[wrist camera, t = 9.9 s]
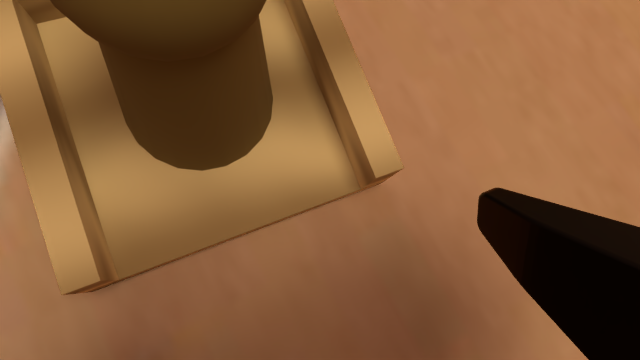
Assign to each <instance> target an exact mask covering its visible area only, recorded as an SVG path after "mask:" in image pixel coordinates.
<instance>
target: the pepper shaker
mask: <svg viewBox="0 0 640 360" xmlns="http://www.w3.org/2000/svg"><path fill="white" fill-rule="evenodd" d="M50 1H51V2H52V4H53V5H54V7H55V8H57V9H58V10H59V11H60V12H61V13H62V14H64V15H65V16H66V17H67V18H68V19H69V20H70V21H72V22H73V23H74V24H75V25H76V26H77V27H78V28H80V29H81V30H82V31H83V32H84V33H86V34H87V35H89V36H90V37H92V38H93V39H95V40H96V41H98V43H99V46H100V48H101V51H102V54H103V57H104V60H105V63H106V66H107V69H108V72H109V75H110V78H111V81H112V84H113V87H114V90H115V93H116V96H117V98H118V101H119V104H120V107H121V110H122V113H123V116H124V119H125V122H126V124H127V126H128V128H129V129H130V131H131V133H132V135H133V136H134V138H135V140H136V141H137V143H138V144H139V145H140V146H141V147H143V148H144V149H145V150H146V151H147V152H148V153H149V154H151V155H152V156H153V157H154V158H155V159H157V160H160V161H162V162H164V163H167V164H169V165H171V166H174V167H176V168H180V169H189V170H199V171H204V170H209V169H214V168H219V167H224V166H227V165H229V164H231V163H233V162H235V161H237V160H238V159H240V158H242V157H244V156H246V155H247V154H248V153H249V152H250V151H251V150H252V149H253V148H254V147H255V146H256V145H257V144H258V142H259V141H260V140H261V139H262V138H263V136H264V133H265V131H266V129H267V127H268V125H269V123H270V120H271V115H272V105H273V94H272V88H271V83H270V77H269V71H268V65H267V60H266V54H265V48H264V42H263V36H262V31H261V25H260V19H259V14H260V12H261V10H262V8H263V6H264V4H265V2H266V0H50Z"/></svg>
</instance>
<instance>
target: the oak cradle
mask: <svg viewBox="0 0 640 360" xmlns="http://www.w3.org/2000/svg"><path fill="white" fill-rule="evenodd" d="M259 19H260V25H261V31H262V36H263V42H264V48H265V54H266V60H267V65H268V71H269V77H270V83H271V88H272V94H273V105H272V115H271V120H270V123H269V125H268V127H267V129H266V131H265V133H264V136H263V138H262V139H261V140H260V141H259V142H258V144H257V145H256V146H255V147H254V148H253V149H252V150H251V151H250V152H249V153H248V154H247V155H246V156H244V157H242V158H240V159H238V160H237V161H235V162H233V163H231V164H229V165H227V166H224V167H219V168H214V169H209V170H204V171H199V170H189V169H180V168H176V167H174V166H171V165H169V164H167V163H164V162H162V161H160V160H157V159H155V158H154V157H153V156H152V155H151V154H149V153H148V152H147V151H146V150H145V149H144V148H143V147H141V146H140V145H139V144H138V143H137V141H136V140H135V138H134V136H133V135H132V133H131V131H130V129H129V128H128V126H127V124H126V122H125V119H124V116H123V113H122V110H121V107H120V104H119V101H118V98H117V96H116V93H115V90H114V87H113V84H112V81H111V78H110V75H109V72H108V69H107V66H106V63H105V60H104V57H103V54H102V51H101V48H100V46H99V43H98V41H96V40H95V39H93V38H92V37H90V36H89V35H87V34H86V33H84V32H83V31H82V30H81V29H80V28H78V27H77V26H76V25H75V24H74V23H73V22H72V21H70V20H69V19H68V18H67V17H66V16H65V15H64V14H62V13H61V12H60V11H59V10H58V9H57V8H55V7H54V5H53V4H52V2H51V1H50V0H0V94H1V97H2V101H3V104H4V107H5V110H6V114H7V117H8V120H9V124H10V127H11V130H12V134H13V137H14V140H15V144H16V147H17V150H18V154H19V157H20V160H21V163H22V167H23V170H24V173H25V177H26V180H27V183H28V187H29V190H30V193H31V197H32V200H33V203H34V206H35V210H36V213H37V216H38V220H39V223H40V226H41V230H42V233H43V236H44V240H45V243H46V246H47V249H48V253H49V256H50V259H51V263H52V266H53V269H54V273H55V276H56V279H57V283H58V286H59V289H60V292H61V295H67V294H76V293H85V292H93V291H95V290H98V289H101V288H103V287H106V286H109V285H111V284H114V283H117V282H119V281H122V280H125V279H127V278H130V277H133V276H135V275H138V274H141V273H143V272H146V271H149V270H151V269H154V268H157V267H159V266H162V265H165V264H167V263H170V262H173V261H175V260H178V259H181V258H183V257H186V256H189V255H191V254H194V253H197V252H199V251H202V250H205V249H207V248H210V247H212V246H215V245H218V244H220V243H223V242H226V241H228V240H231V239H234V238H236V237H239V236H242V235H244V234H247V233H250V232H252V231H255V230H258V229H260V228H263V227H266V226H268V225H271V224H274V223H276V222H279V221H282V220H284V219H287V218H290V217H292V216H295V215H298V214H300V213H303V212H306V211H308V210H311V209H314V208H316V207H319V206H322V205H324V204H327V203H330V202H332V201H335V200H338V199H340V198H343V197H346V196H348V195H351V194H354V193H356V192H359V191H362V190H364V189H367V188H370V187H372V186H375V185H378V184H380V183H382V182H383V181H385V180H387V179H388V178H390V177H391V176H393V175H394V174H396V173H397V172H399V171H400V170H402V169H403V168H404V166H403V164H402V162H401V159H400V157H399V155H398V152H397V150H396V147H395V145H394V143H393V140H392V138H391V136H390V133H389V131H388V129H387V126H386V124H385V122H384V119H383V117H382V115H381V112H380V110H379V107H378V105H377V103H376V100H375V98H374V96H373V93H372V91H371V89H370V86H369V84H368V82H367V79H366V77H365V75H364V72H363V70H362V67H361V65H360V63H359V60H358V58H357V56H356V53H355V51H354V49H353V46H352V44H351V42H350V39H349V37H348V35H347V32H346V30H345V27H344V25H343V23H342V20H341V18H340V16H339V13H338V11H337V9H336V6H335V4H334V2H333V0H266V2H265V4H264V6H263V8H262V10H261V12H260V14H259Z"/></svg>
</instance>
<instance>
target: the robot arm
mask: <svg viewBox="0 0 640 360" xmlns="http://www.w3.org/2000/svg"><path fill="white" fill-rule="evenodd" d="M477 223H478V227H479V229H480V231H481V232H482V234H483V235H484V237H485V238H486V239H487V241H488V242H489V243H490V245H491V246H492V247H493V249H494V250H495V251H496V253H497V254H498V255H499V257H500V258H501V260H502V261H503V262H504V264H505V265H506V266H507V268H508V269H509V270H510V272H511V273H512V274H513V276H514V277H515V278H516V280H517V281H518V282H519V283H520V285H521V286H522V287H523V288H524V289H525V290H526V291H527V293H528V294H529V295H530V296H531V297H532V298H533V299H534V300H535V301H536V303H537V304H538V305H539V306H540V307H541V308H542V309H543V310H544V311H545V312H546V313H547V315H548V316H549V317H550V318H551V319H552V320H553V321H554V322H555V323H556V324H557V326H558V327H559V328H560V329H561V330H562V331H563V332H564V333H565V334H566V335H567V336H568V338H569V339H570V340H571V341H572V342H573V343H574V344H575V345H576V346H577V347H578V349H579V350H580V351H581V352H582V353H583V354H584V355H585V356H586V357H587V358H588V359H589V360H640V227H637V226H634V225H630V224H626V223H623V222H619V221H616V220H612V219H609V218H605V217H602V216H598V215H594V214H591V213H587V212H584V211H580V210H577V209H573V208H570V207H566V206H562V205H559V204H555V203H552V202H548V201H545V200H541V199H538V198H534V197H530V196H527V195H523V194H520V193H516V192H513V191H509V190H505V189H502V188H493V189H491V190H488V191H486V192H483V193H482V194H481V195H480V196H479V201H478V215H477Z"/></svg>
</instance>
